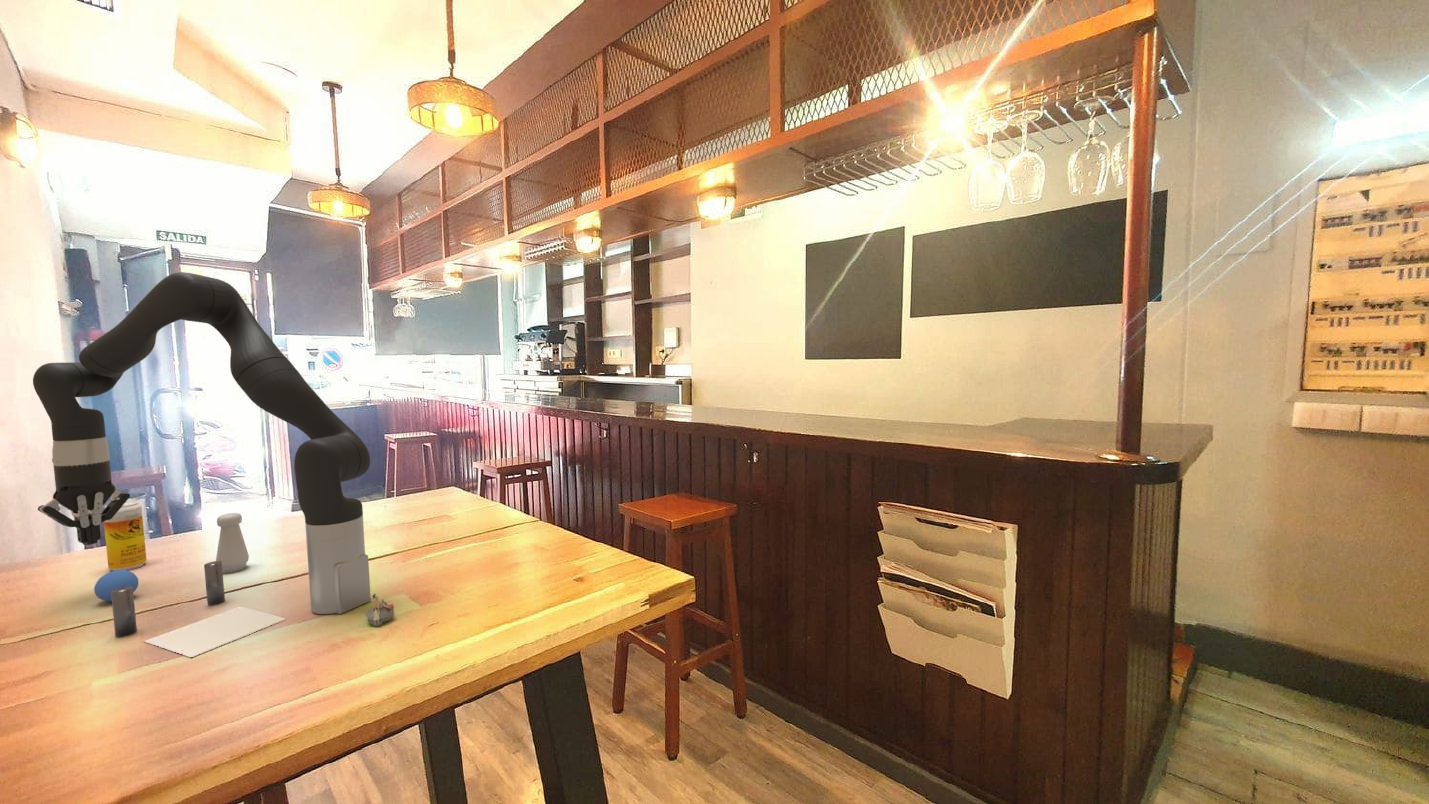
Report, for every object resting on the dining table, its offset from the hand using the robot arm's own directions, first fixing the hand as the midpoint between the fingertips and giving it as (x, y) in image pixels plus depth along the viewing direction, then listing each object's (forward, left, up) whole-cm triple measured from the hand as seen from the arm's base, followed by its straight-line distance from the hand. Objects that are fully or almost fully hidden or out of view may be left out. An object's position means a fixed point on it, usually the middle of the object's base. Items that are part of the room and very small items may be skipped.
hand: (90, 543), depth 112 cm
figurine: (-67, -13, -11) cm, 69 cm away
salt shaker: (-12, -18, -11) cm, 24 cm away
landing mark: (-43, 0, -11) cm, 44 cm away
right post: (-29, -7, -11) cm, 32 cm away
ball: (-9, 0, -8) cm, 12 cm away
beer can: (+13, -10, -11) cm, 20 cm away
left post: (-29, +7, -11) cm, 32 cm away
